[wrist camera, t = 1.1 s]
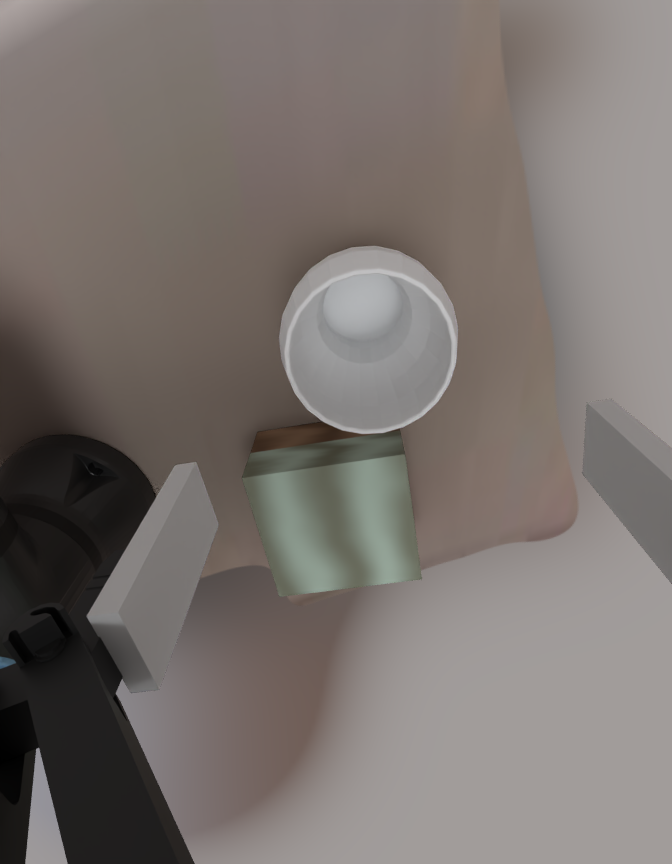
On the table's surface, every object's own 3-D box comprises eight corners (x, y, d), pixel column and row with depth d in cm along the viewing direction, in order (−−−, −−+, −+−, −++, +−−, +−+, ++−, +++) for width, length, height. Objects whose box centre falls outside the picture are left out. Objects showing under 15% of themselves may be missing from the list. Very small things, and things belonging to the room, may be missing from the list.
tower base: (288, 539, 52) (279, 596, 45) (257, 432, 46) (241, 478, 39) (410, 523, 51) (421, 579, 43) (395, 410, 45) (405, 454, 38)
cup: (418, 215, 37) (459, 236, 24) (433, 347, 42) (474, 426, 29) (283, 244, 38) (250, 279, 25) (312, 370, 43) (298, 456, 30)
